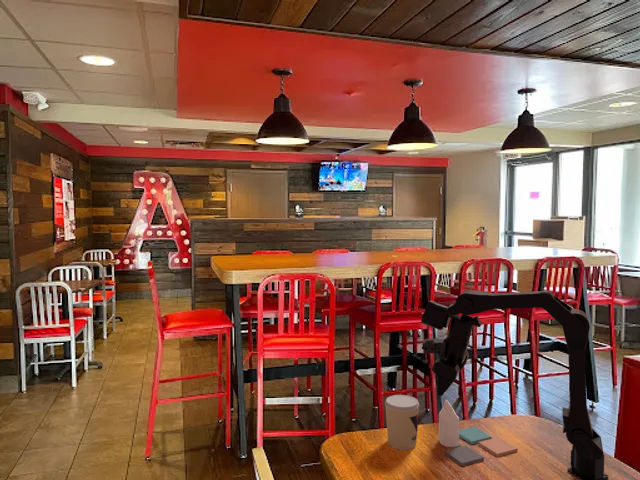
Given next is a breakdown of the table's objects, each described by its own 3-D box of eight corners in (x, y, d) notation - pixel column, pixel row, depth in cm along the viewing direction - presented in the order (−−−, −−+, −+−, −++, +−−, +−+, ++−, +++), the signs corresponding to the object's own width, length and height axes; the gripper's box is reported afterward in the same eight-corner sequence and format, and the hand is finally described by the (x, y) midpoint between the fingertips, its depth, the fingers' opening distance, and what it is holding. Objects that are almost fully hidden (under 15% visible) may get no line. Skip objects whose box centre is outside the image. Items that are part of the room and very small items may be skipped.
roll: (463, 403, 130) (444, 405, 129) (463, 446, 131) (444, 448, 130) (453, 395, 136) (435, 396, 135) (453, 436, 137) (434, 438, 136)
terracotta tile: (517, 451, 128) (517, 448, 128) (497, 456, 125) (497, 453, 125) (498, 440, 134) (498, 437, 134) (478, 444, 132) (478, 442, 132)
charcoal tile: (483, 460, 123) (483, 457, 123) (461, 466, 121) (461, 463, 121) (465, 448, 130) (465, 445, 130) (444, 453, 127) (444, 450, 127)
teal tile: (491, 439, 135) (491, 436, 135) (471, 444, 132) (471, 441, 132) (474, 429, 141) (474, 426, 141) (455, 433, 138) (455, 431, 138)
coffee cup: (419, 452, 127) (419, 408, 127) (383, 449, 129) (383, 406, 129) (419, 436, 137) (419, 395, 136) (386, 434, 139) (386, 393, 138)
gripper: (437, 319, 140) (424, 368, 143) (420, 333, 123) (405, 389, 126) (475, 332, 135) (461, 383, 138) (463, 349, 119) (447, 406, 121)
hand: (443, 389), depth 131 cm, fingers open, 9 cm apart
